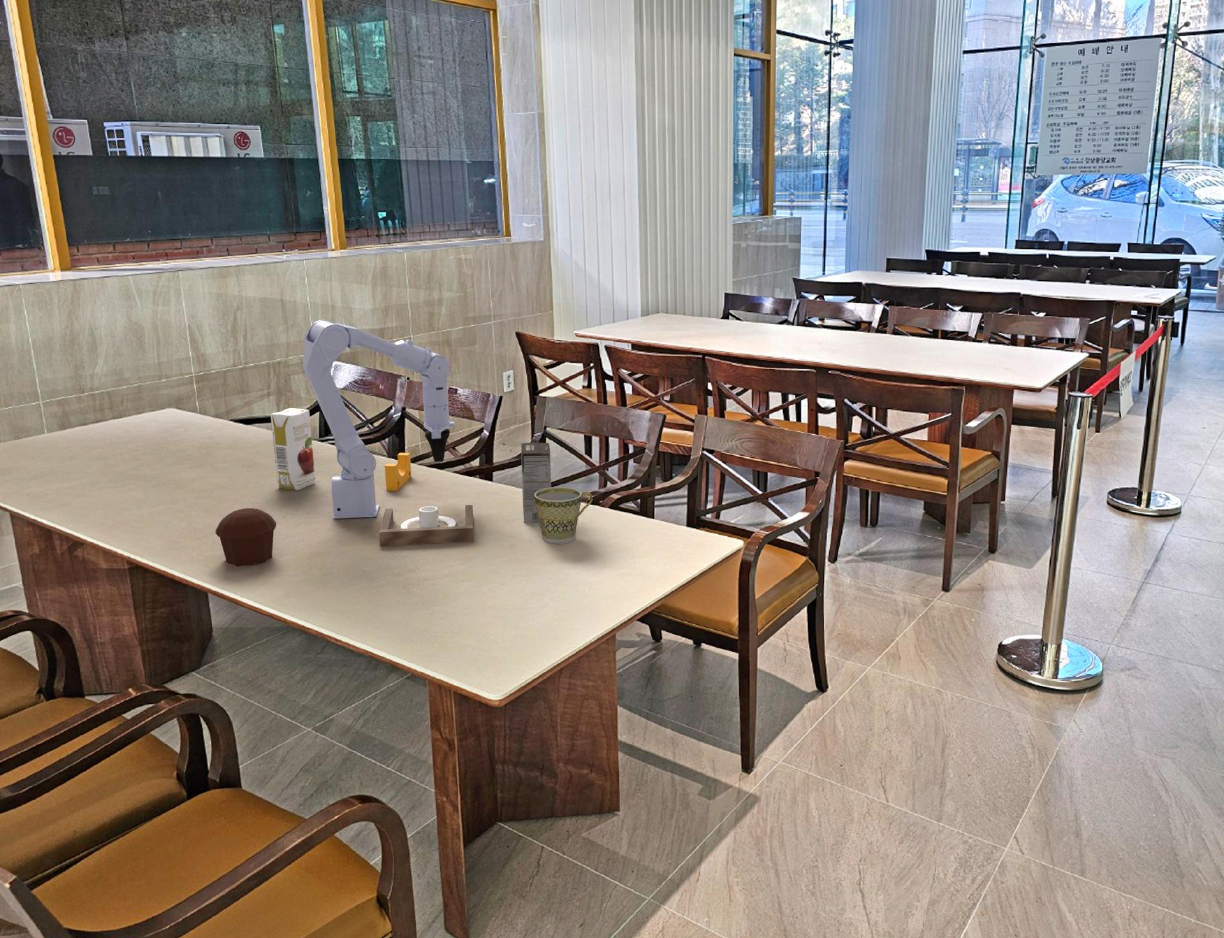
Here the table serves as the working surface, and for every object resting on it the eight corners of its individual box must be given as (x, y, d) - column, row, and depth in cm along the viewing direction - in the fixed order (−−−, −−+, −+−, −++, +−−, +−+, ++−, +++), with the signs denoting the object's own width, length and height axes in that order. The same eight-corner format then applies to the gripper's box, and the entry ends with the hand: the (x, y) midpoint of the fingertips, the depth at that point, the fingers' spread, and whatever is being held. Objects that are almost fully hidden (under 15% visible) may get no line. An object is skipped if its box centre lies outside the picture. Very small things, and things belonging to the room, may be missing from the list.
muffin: (243, 573, 190) (237, 524, 187) (206, 562, 196) (200, 514, 193) (291, 554, 200) (287, 507, 197) (255, 544, 205) (250, 498, 202)
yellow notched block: (395, 476, 253) (393, 452, 252) (411, 477, 253) (409, 453, 251) (379, 490, 242) (377, 465, 240) (396, 491, 241) (394, 466, 240)
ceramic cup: (546, 550, 202) (545, 503, 199) (527, 535, 210) (526, 490, 207) (603, 539, 207) (602, 494, 205) (582, 526, 216) (582, 482, 213)
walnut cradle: (380, 545, 204) (379, 532, 203) (386, 521, 219) (385, 508, 218) (473, 541, 207) (472, 527, 206) (473, 517, 221) (472, 504, 221)
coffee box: (523, 510, 227) (521, 442, 222) (550, 509, 227) (549, 441, 223) (522, 523, 218) (520, 452, 213) (552, 522, 218) (550, 452, 214)
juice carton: (273, 488, 243) (265, 413, 238) (296, 479, 251) (289, 406, 245) (297, 492, 240) (290, 416, 235) (320, 482, 248) (313, 409, 243)
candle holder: (408, 540, 208) (407, 521, 207) (394, 523, 219) (393, 504, 218) (463, 531, 214) (462, 512, 212) (447, 515, 224) (446, 497, 223)
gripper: (452, 410, 222) (455, 468, 226) (453, 397, 236) (456, 452, 240) (421, 411, 221) (424, 469, 225) (424, 398, 235) (427, 453, 239)
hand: (439, 460), depth 232 cm, fingers closed
